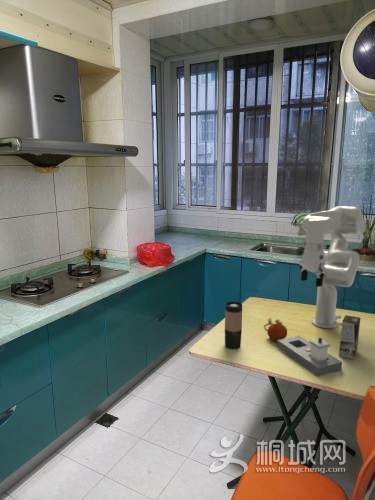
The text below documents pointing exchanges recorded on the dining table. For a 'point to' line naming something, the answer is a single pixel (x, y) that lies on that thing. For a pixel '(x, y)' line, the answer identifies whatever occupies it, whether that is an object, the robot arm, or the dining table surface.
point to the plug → (319, 349)
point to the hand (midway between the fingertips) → (311, 283)
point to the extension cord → (275, 321)
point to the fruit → (277, 331)
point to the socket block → (308, 356)
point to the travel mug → (233, 325)
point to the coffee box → (349, 337)
